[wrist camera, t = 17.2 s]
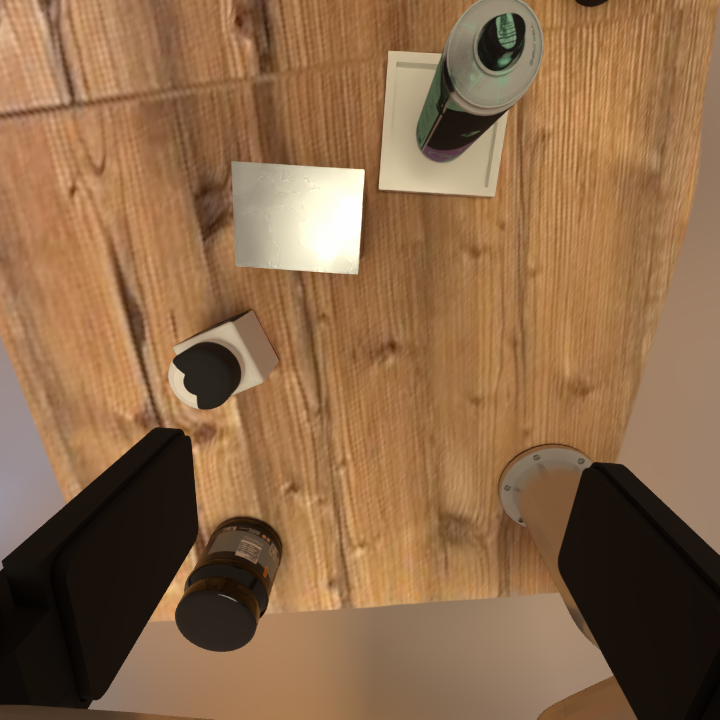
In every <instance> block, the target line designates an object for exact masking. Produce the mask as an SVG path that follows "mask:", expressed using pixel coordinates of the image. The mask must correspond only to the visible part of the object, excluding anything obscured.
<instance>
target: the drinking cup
mask: <svg viewBox="0 0 720 720" xmlns="http://www.w3.org/2000/svg"><path fill="white" fill-rule="evenodd" d="M576 1H577V2H578V3H580V4H581V5H584V6H590V7H592V6H597V5H600V4H602V3H604V2H606V1H607V0H576Z"/></svg>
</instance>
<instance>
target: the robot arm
mask: <svg viewBox="0 0 720 720" xmlns="http://www.w3.org/2000/svg"><path fill="white" fill-rule="evenodd" d="M498 493H499V498H500V502H501V504H502V506H503V508H504V510H505V512H506V513H507V515H508V516H509V517H510V518H511V519H512V520H513V521H515V522H516V523H517V524H519V525H521V526H524V527H526V528H527V529H528V531H529V533H530V535H531V537H532V539H533V541H534V543H535V545H536V547H537V549H538V551H539V553H540V555H541V557H542V559H543V561H544V563H545V565H546V567H547V569H548V571H549V573H550V575H551V577H552V579H553V581H554V583H555V585H556V587H557V589H558V591H559V592H560V594H561V596H562V598H563V600H564V602H565V604H566V607H567V609H568V611H569V613H570V615H571V616H572V619H573V620H574V622H575V623H576V625H577V626H578V628H579V629H580V630H581V632H582V633H583V634H584V635H585V637H586V638H588V639H589V640H590V641H591V642H592V643H593V644H594V645H595V646H596V647H597V648H599V649H600V650H601V652H602V654H603V656H604V658H605V659H606V661H607V663H608V665H609V667H610V669H611V671H612V673H613V674H614V675H613V676H612V677H610V678H608V679H605V680H603V681H601V682H599V683H597V684H595V685H592V686H590V687H588V688H586V689H584V690H582V691H579V692H577V693H575V694H573V695H571V696H569V697H567V698H565V699H563V700H561V701H559V702H557V703H555V704H554V705H552V706H550V707H548V708H547V709H546V710H544V711H543V712H542V713H541V714H540V715H539V717H538V718H537V720H720V555H718V553H716V552H715V551H714V550H713V549H712V548H711V547H710V546H709V545H708V544H707V543H706V542H705V541H704V540H703V539H702V538H701V537H700V536H698V535H697V534H696V533H695V532H694V531H693V530H692V529H691V528H690V527H689V526H688V525H687V524H686V523H685V522H684V521H683V520H681V519H680V518H679V517H678V516H677V515H676V514H675V513H674V512H673V511H672V510H671V509H670V508H669V507H668V506H667V505H666V504H664V503H663V502H662V501H661V500H660V499H659V498H658V497H657V496H656V495H655V494H654V493H653V492H652V491H651V490H650V489H649V488H648V487H646V486H645V485H644V484H643V483H642V482H641V481H640V480H639V479H638V478H637V477H636V476H635V475H634V474H633V473H632V472H631V471H630V470H629V469H627V468H626V467H625V466H624V465H622V464H613V463H601V462H594V463H593V462H592V461H591V460H590V459H589V458H588V457H587V456H586V455H584V454H583V453H582V452H580V451H578V450H576V449H574V448H571V447H568V446H564V445H544V446H539V447H535V448H533V449H530V450H528V451H525V452H524V453H522V454H521V455H519V456H517V457H516V458H515V459H514V460H513V461H512V462H511V463H510V464H509V465H508V466H507V467H506V469H505V470H504V472H503V474H502V476H501V478H500V482H499V491H498ZM197 534H198V515H197V503H196V492H195V480H194V468H193V456H192V444H191V439H190V437H189V436H185V434H184V432H183V430H181V429H173V428H160V427H156V428H154V429H153V430H152V431H150V432H149V433H148V434H147V435H146V436H145V437H144V438H142V439H141V440H140V441H139V442H138V443H137V444H136V445H134V446H133V447H132V448H131V449H130V450H129V451H127V452H126V453H125V454H124V455H123V456H122V457H121V458H119V459H118V460H117V461H116V462H115V463H114V464H113V465H111V466H110V467H109V468H108V469H107V470H106V471H105V472H103V473H102V474H101V475H100V476H99V477H98V478H96V479H95V480H94V481H93V482H92V483H91V484H90V485H88V486H87V487H86V488H85V489H84V490H83V491H82V492H80V493H79V494H78V495H77V496H76V497H75V498H74V499H72V500H71V501H70V502H69V503H68V504H67V505H65V506H64V507H63V508H62V509H61V510H60V511H59V512H58V513H56V514H55V515H54V516H53V517H52V518H51V519H49V520H48V521H47V522H46V523H45V524H44V525H43V526H42V527H40V528H39V529H38V530H37V531H36V532H34V533H33V534H32V535H31V536H30V537H29V538H28V539H26V540H25V541H24V542H23V543H22V544H21V545H20V546H18V548H16V549H15V550H14V551H13V552H12V553H11V554H9V555H8V556H7V557H6V558H5V559H3V560H2V564H3V567H4V568H3V569H2V570H1V571H0V720H212V719H201V718H190V717H189V718H188V717H179V716H167V715H156V714H144V713H134V712H119V711H104V710H90V709H88V707H89V706H90V704H91V702H92V701H93V700H98V699H100V698H101V697H102V696H103V695H104V694H105V692H106V691H107V690H108V688H109V686H110V684H111V683H112V681H113V680H114V678H115V676H116V675H117V673H118V671H119V670H120V668H121V666H122V664H123V663H124V661H125V659H126V658H127V656H128V654H129V653H130V651H131V649H132V648H133V646H134V644H135V643H136V641H137V639H138V637H139V636H140V634H141V632H142V631H143V629H144V627H145V626H146V624H147V622H148V621H149V619H150V617H151V616H152V614H153V612H154V610H155V609H156V607H157V605H158V604H159V602H160V600H161V599H162V597H163V595H164V594H165V592H166V590H167V589H168V587H169V585H170V583H171V582H172V580H173V578H174V577H175V575H176V573H177V572H178V570H179V568H180V567H181V565H182V563H183V562H184V560H185V558H186V556H187V555H188V553H189V551H190V550H191V548H192V546H193V545H194V543H195V541H196V538H197Z"/></svg>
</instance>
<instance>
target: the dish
mask: <svg viewBox="0 0 720 720" xmlns="http://www.w3.org/2000/svg"><path fill="white" fill-rule="evenodd" d="M441 55H442V54H435V53H418V52H400V51H389V53H388V67H387V81H386V95H385V108H384V122H383V136H382V150H381V164H380V177H379V191H386V192H401V193H416V194H432V195H447V196H463V197H478V198H492V197H495V191H496V185H497V179H498V172H499V166H500V160H501V154H502V147H503V141H504V135H505V129H506V122H507V116H508V111H507V112H506V113H505V114H504V115H502V116H501V117H500V118H499V119H498V120H497V121H496V122H495V123H494V124H493V125H492V126H491V127H490V128H489V129H488V130H487V131H486V132H485V133H484V134H482V135H481V136H480V137H479V138H478V139H477V140H476V141H475V142H474V143H473V144H472V145H471V146H470V147H469V148H468V149H467V150H466V151H465V152H464V153H462V154H461V155H460V156H459V157H458V158H456V159H454V160H453V161H450V162H446V163H437V162H434V161H431V160H429V159H428V158H426V157H425V156H424V155H423V154H422V152H421V151H420V149H419V147H418V144H417V140H416V128H417V123H418V120H419V117H420V114H421V111H422V109H423V106H424V103H425V100H426V97H427V94H428V92H429V89H430V86H431V83H432V80H433V78H434V75H435V72H436V69H437V66H438V64H439V61H440V58H441Z"/></svg>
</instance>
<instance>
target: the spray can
mask: <svg viewBox="0 0 720 720" xmlns="http://www.w3.org/2000/svg"><path fill="white" fill-rule="evenodd" d="M543 43H544V40H543V33H542V28H541V25H540V22H539V19H538V18H537V16H536V14H535V13H534V11H533V10H532V9H531V8H530V7H529V6H528V4H527V3H525V2H524V1H522V0H479V1H477V2H476V3H474V4H473V5H471V6H470V7H469V8H468V9H467V10H466V11H465V12H464V13H463V14H462V16H461V17H460V18H459V20H458V21H457V23H456V24H455V25H454V27H453V28H452V30H451V32H450V34H449V36H448V38H447V41H446V44H445V47H444V49H443V52H442V55H441V58H440V61H439V64H438V66H437V69H436V72H435V75H434V78H433V80H432V83H431V86H430V89H429V92H428V94H427V97H426V100H425V103H424V106H423V109H422V111H421V114H420V117H419V120H418V123H417V128H416V140H417V144H418V147H419V149H420V151H421V152H422V154H423V155H424V156H425V157H426V158H428V159H429V160H431V161H434V162H437V163H446V162H450V161H453V160H454V159H456V158H458V157H459V156H460V155H461V154H462V153H464V152H465V151H466V150H467V149H468V148H469V147H470V146H471V145H472V144H473V143H474V142H475V141H476V140H477V139H478V138H479V137H480V136H481V135H482V134H484V133H485V132H486V131H487V130H488V129H489V128H490V127H491V126H492V125H493V124H494V123H495V122H496V121H497V120H498V119H499V118H500V117H501V116H502V115H504V114H505V113H506V112H507V111H508V110H509V109H510V108H511V107H512V106H513V105H514V104H515V103H516V102H517V101H518V100H519V99H520V98H521V97H522V96H523V95H524V94H525V92H526V91H527V90H528V88H529V86H530V85H531V83H532V82H533V80H534V78H535V76H536V75H537V72H538V70H539V67H540V64H541V60H542V55H543Z"/></svg>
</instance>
